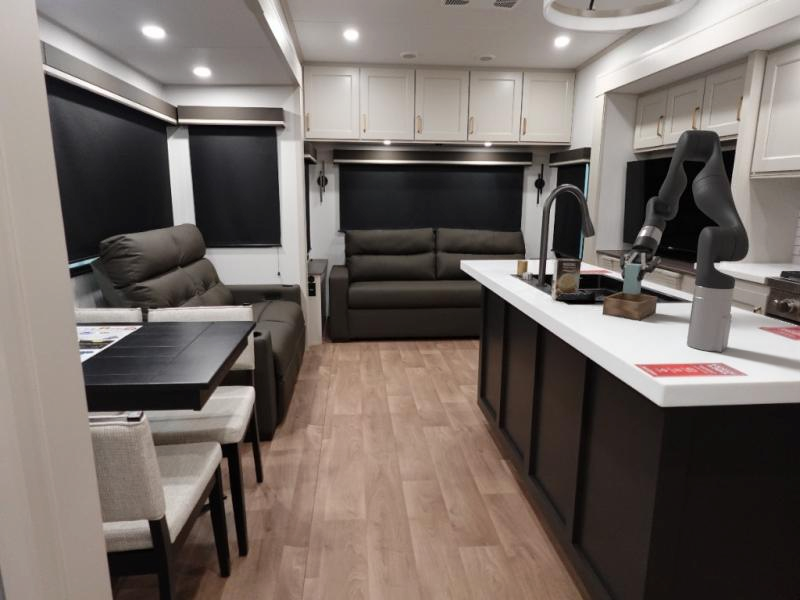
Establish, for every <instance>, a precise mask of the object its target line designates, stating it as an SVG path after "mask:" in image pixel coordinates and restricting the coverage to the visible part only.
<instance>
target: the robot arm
mask: <svg viewBox="0 0 800 600" xmlns="http://www.w3.org/2000/svg"><path fill="white" fill-rule="evenodd" d="M676 143H677V144H676V145H675V149H674V151H673V154H672V159H671V160H670V161H671V162H670V164H669V169H668V172H667V175H666V177H665V179H664V181H663V183H662V184H661V187H660V189H659V191H658V196H652V197H651V198H649V200H648V201H647V204H646V209H645V220H644V223H643V225H642V227H641V229H640V231H638V235H637V237H636V239H635V241H634V243H633V245H632V248H631V251H629V252H628V253H624V252H621V253H620V255H619V268H620V269H621V270H622V272H621V274H620V275H621V278H622V280H624V277H625V266H626V264H629V263H630V264H631V263H634V264H642V269H641V270H640V272H639V274H638V276H637V280H638V281H639V282H640V281H641V280H642V281H643V280H644V278H645V275H646V274H647V273H649V274H652V273H653V272H654V271H655V269H657V267H658V266H659V265H660V264H662V261H661V259H662V258H661V257H660V256H658V255H657V256H655V254H656V252H657V249H658V246H659V245H660V242H661V238H662V235H663V233H664V231H665V228H666V226H667V225H666V223H667V222H666V221H672V220H673V219H675V217H676V215H677V214H678V211H679V201H680V198H681V197H682V194H683V192H684V191H685V189H686V187H687V184H688V178H687V175H686V172H685V169H684V165H683V163H684V162H685V161H690V162H702V163H704V164H705V165H704V167H703V168H702V169H701V171H699V173H698V174H697V175H696V177H694V180H693V182H692V194H693V199H694V203H695V205H696V206H697V208H698V209H699V210H700V211H701V212H702V213H704V215H705V216H706V217H708V218H710V220H713V221H714V222H715V223H716V224H717V225H718V226H705V227H704V228H703V229H702V230H701V232H700V234H699V236H698V243H697V254H696V255H697V256H696V265H695V280H694V288H693V293H692V295H693V296H692V302H691V303H692V304H691V309H690V316H689V317H690V318H689V324H688V325H689V326H688V332H687V337H686V339H687V340H686V344H687V346H689V347H690V348H694V349H696V350H701V351H707V352H708V351H709V352H718V353H722V352H724V351H725V350H726V349H727V348H728V344H729V338H730V330H731V324H732V319H733V315H732V314H731V311H732V304H733V298H734V291H735V286H736V277H734V276H733V275H730V274H727V273H725V272H722V271H720V270H718V269H717V268H716V267H715V262H726V263H727V262H728V263H731V262H740V261H742V260H744V259H745V258H746V257H747V255H748V253H749V248H750V242H749V236H748V232H747V230H746V228H745V225H744V223H743V221H742V219H741V217H740V213H739V212H738V209H737V206H736V203H735V199H734V196H733V192H732V191H733V190H732V187H731V185H730V180H729V178H728V176H727V173H726V168H725V164H724V160H723V154H722V146H721V139H720V136H719V134H718V133H717V132H716V131H714V130H705V129H704V130H703V129H701V130H700V129H696V130H695V129H687V130H684V131H683V132H682V133H681V134H680V136H679V138H678V140H677V142H676ZM626 261H627V262H626ZM648 263H650V264H649V265H648Z"/></svg>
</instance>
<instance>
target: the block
mask: <svg viewBox="0 0 800 600" xmlns="http://www.w3.org/2000/svg"><path fill="white" fill-rule="evenodd" d="M625 265H626V266H625V277H624V279H623V286H622V292H623V293H629V294H640V293H641V291H642V290H641V287H642V281H643V280H641V281H640V282H639V281H638V280H637V276H638V274H639V272H640V270H641V269H642V264H634V263H631V264H630V263H629V264H626V263H625Z"/></svg>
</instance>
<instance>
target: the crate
mask: <svg viewBox="0 0 800 600" xmlns="http://www.w3.org/2000/svg"><path fill="white" fill-rule="evenodd" d="M657 303H658V296H654V295H648V294H640V293H638V294H629V293H623V291H620V292H617V293H613V294H611V295H608V296H605V297H603V306H602V315H605V316H610V317H615V318H616V317H617V318H621V319H627V320H632V321H639V322H640V321H642V320H645V319H646V318H649V317H651V316H652V315H655V314H656V311H657ZM654 313H655V314H654Z"/></svg>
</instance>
